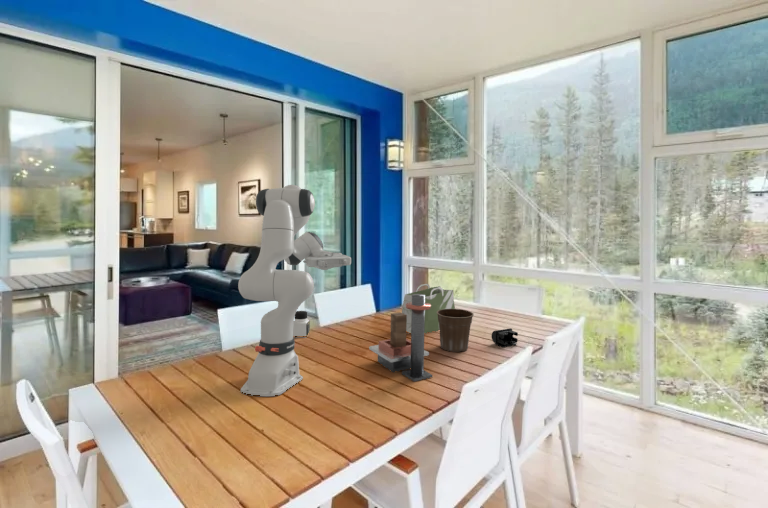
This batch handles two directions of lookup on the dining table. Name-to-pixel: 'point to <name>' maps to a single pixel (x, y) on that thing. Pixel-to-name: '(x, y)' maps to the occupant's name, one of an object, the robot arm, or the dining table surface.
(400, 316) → the tall wooden post
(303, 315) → the medicine bottle
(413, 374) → the bracket
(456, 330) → the plant pot
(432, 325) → the grocery bag
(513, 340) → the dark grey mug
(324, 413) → the dining table surface
